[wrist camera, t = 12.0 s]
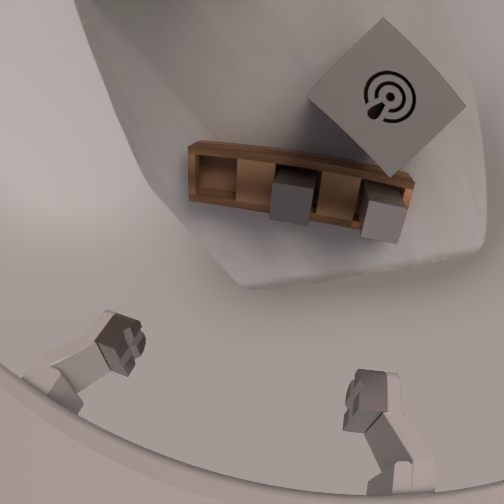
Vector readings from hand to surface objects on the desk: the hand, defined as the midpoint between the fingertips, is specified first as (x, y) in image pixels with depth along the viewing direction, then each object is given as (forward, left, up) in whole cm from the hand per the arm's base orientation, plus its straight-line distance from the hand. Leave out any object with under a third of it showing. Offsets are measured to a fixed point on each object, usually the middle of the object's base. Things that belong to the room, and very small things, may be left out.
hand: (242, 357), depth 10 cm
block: (+3, -1, -28) cm, 29 cm away
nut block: (+3, +9, -28) cm, 30 cm away
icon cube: (-9, +6, -30) cm, 31 cm away
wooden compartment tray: (+3, -1, -29) cm, 30 cm away
